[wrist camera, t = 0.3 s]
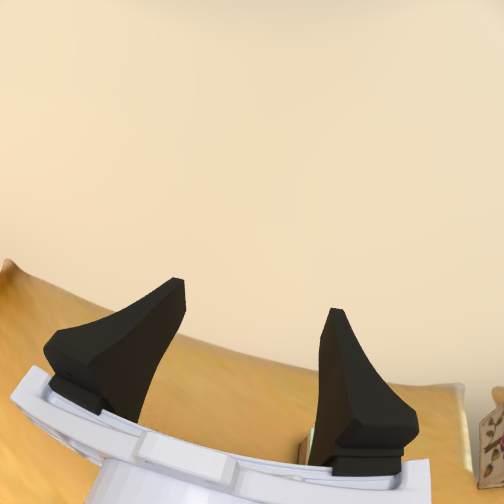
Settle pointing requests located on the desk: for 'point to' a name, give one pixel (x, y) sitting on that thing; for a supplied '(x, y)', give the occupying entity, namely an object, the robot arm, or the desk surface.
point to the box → (302, 452)
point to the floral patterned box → (492, 449)
